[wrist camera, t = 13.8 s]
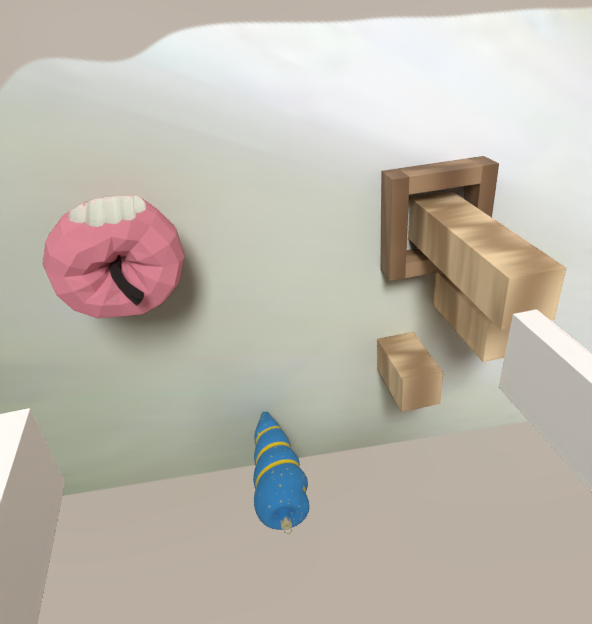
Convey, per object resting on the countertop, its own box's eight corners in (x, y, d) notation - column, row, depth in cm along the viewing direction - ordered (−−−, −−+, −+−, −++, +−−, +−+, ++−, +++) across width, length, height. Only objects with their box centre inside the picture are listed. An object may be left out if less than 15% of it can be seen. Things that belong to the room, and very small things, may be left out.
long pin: (408, 238, 48) (500, 330, 34) (409, 197, 45) (509, 278, 32) (448, 231, 48) (554, 319, 35) (451, 190, 46) (566, 267, 33)
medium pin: (432, 304, 52) (482, 362, 44) (435, 270, 50) (488, 323, 42) (468, 297, 53) (525, 353, 44) (473, 263, 51) (532, 315, 42)
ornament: (279, 432, 57) (309, 553, 45) (234, 429, 55) (253, 554, 43) (291, 396, 55) (327, 513, 42) (245, 392, 53) (268, 513, 41)
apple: (180, 178, 40) (183, 224, 32) (184, 275, 45) (188, 337, 36) (51, 176, 38) (18, 225, 30) (68, 278, 43) (44, 345, 34)
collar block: (380, 268, 49) (390, 280, 47) (381, 171, 44) (392, 179, 42) (472, 252, 50) (485, 263, 48) (483, 156, 45) (499, 163, 43)
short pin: (377, 368, 55) (401, 411, 49) (377, 338, 53) (402, 380, 47) (411, 361, 56) (440, 403, 50) (413, 331, 54) (442, 372, 48)
